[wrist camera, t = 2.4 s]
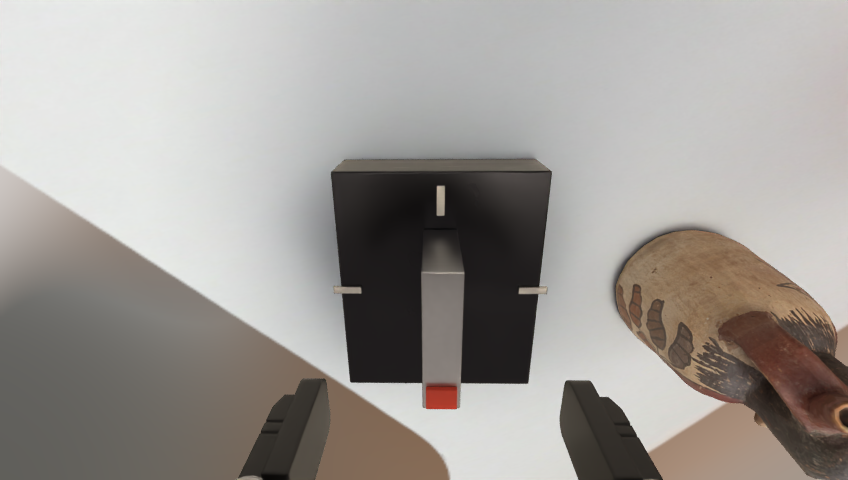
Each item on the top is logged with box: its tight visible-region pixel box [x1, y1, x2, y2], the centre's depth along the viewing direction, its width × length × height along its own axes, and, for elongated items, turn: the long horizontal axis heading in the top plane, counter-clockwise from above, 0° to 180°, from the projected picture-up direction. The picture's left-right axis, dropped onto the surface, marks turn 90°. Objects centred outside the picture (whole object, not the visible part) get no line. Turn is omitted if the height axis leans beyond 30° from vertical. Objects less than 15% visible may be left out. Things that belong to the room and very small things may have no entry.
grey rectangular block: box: [421, 230, 465, 409], centre depth 18 cm, size 6×2×5 cm, turn 0°
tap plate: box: [331, 159, 552, 384], centre depth 22 cm, size 12×11×3 cm
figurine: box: [616, 230, 848, 480], centre depth 18 cm, size 7×7×12 cm
